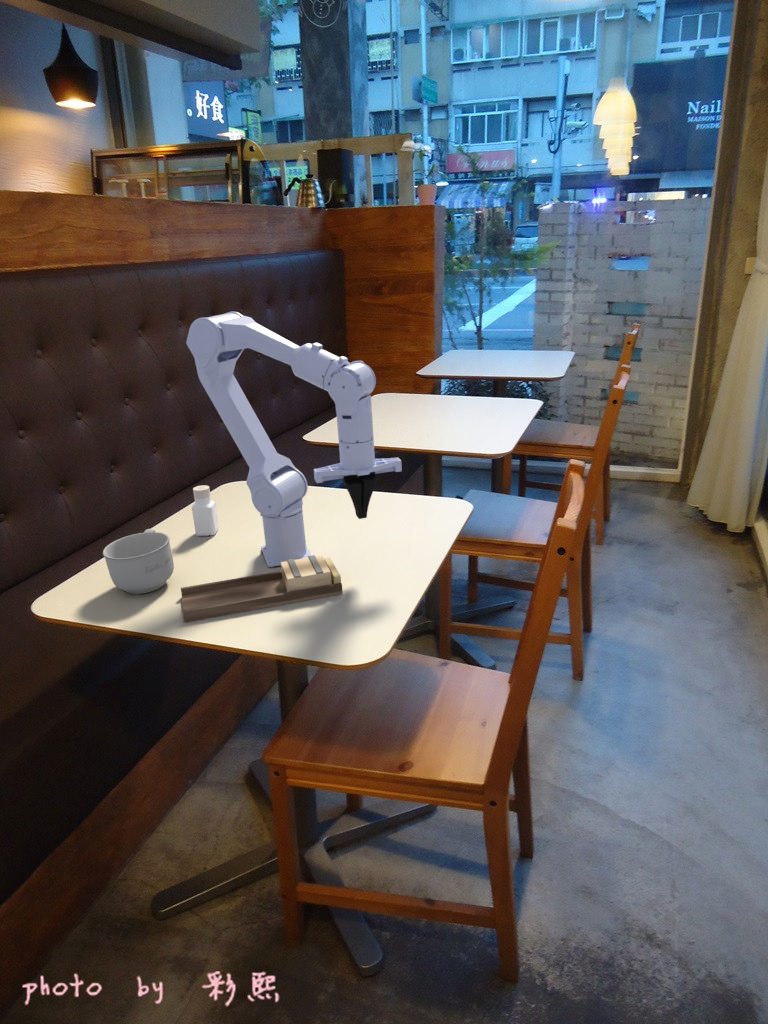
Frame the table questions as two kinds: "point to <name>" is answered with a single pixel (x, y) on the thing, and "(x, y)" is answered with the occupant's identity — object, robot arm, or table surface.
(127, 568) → the teacup
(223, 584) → the bay
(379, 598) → the table surface
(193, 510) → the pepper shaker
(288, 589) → the banded tan block
